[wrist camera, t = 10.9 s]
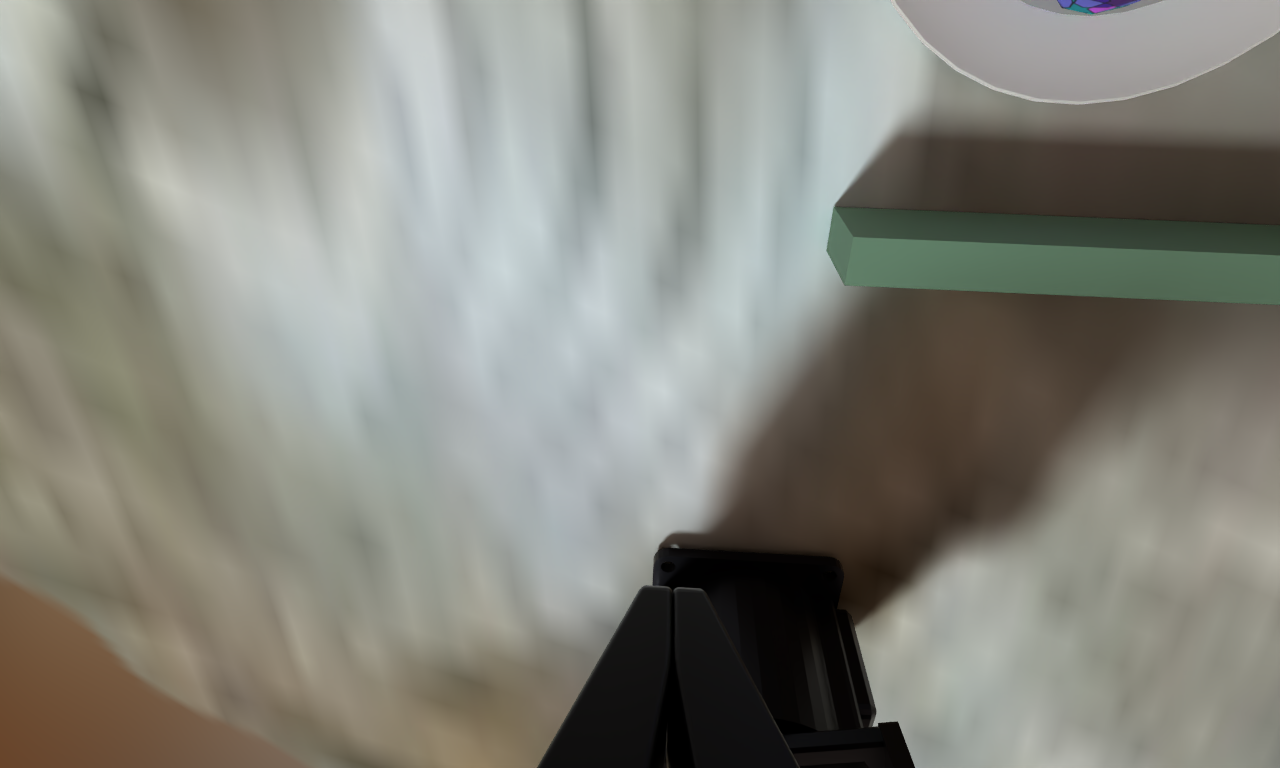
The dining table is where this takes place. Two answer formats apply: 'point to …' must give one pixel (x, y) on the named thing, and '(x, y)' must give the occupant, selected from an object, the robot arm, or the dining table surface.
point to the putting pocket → (1056, 255)
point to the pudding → (1088, 43)
